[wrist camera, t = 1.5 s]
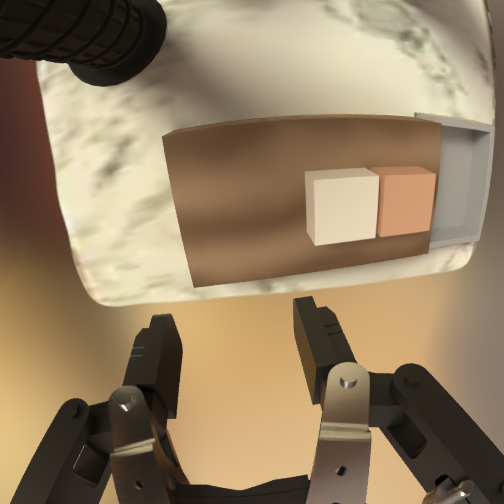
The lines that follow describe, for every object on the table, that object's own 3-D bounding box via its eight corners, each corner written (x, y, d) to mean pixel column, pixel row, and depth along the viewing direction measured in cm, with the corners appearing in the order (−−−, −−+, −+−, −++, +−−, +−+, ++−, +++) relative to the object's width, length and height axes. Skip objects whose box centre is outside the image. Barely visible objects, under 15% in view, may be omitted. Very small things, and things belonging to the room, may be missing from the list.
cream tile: (304, 171, 21) (313, 180, 19) (364, 167, 22) (379, 175, 19) (306, 231, 24) (315, 245, 22) (362, 225, 24) (375, 237, 22)
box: (414, 112, 24) (434, 116, 21) (474, 120, 24) (494, 125, 21) (406, 235, 31) (422, 250, 28) (462, 228, 31) (479, 240, 28)
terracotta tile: (370, 167, 22) (385, 175, 19) (419, 166, 22) (436, 174, 19) (367, 224, 24) (380, 237, 22) (414, 219, 24) (429, 230, 22)
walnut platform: (173, 130, 24) (162, 136, 19) (411, 117, 24) (441, 123, 20) (198, 259, 30) (193, 287, 26) (404, 232, 30) (427, 253, 26)
